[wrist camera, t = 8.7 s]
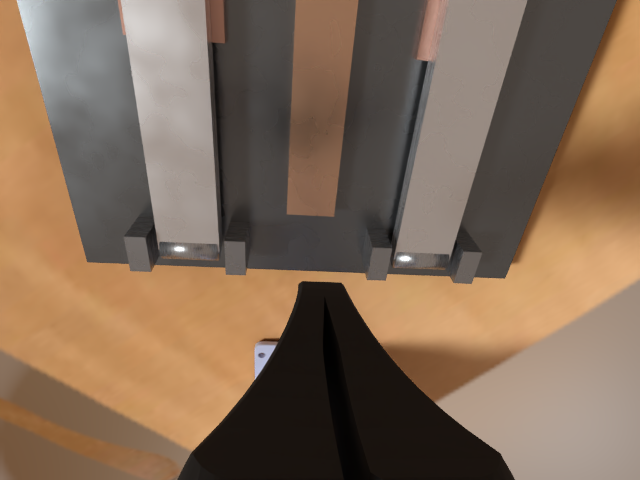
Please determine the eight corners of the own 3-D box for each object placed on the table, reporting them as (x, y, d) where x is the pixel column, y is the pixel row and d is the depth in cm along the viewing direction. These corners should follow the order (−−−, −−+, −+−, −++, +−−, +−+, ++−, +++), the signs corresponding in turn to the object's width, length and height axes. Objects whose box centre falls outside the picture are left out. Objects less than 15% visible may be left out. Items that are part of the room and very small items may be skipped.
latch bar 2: (438, 260, 22) (446, 274, 21) (387, 258, 22) (392, 272, 21) (513, -2, 16) (530, -2, 15) (440, -9, 16) (452, -10, 14)
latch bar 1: (224, 251, 21) (219, 265, 20) (167, 248, 21) (159, 263, 20) (209, -32, 15) (201, -35, 14) (127, -40, 15) (111, -44, 13)
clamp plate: (494, 264, 25) (521, 300, 22) (99, 247, 23) (69, 284, 20) (611, -47, 17) (679, -57, 14) (10, -114, 15) (-63, -143, 12)
